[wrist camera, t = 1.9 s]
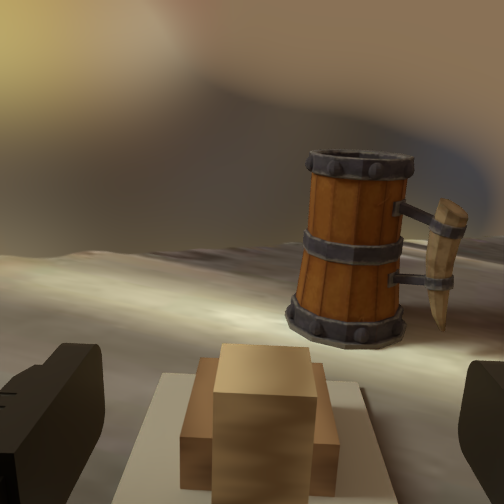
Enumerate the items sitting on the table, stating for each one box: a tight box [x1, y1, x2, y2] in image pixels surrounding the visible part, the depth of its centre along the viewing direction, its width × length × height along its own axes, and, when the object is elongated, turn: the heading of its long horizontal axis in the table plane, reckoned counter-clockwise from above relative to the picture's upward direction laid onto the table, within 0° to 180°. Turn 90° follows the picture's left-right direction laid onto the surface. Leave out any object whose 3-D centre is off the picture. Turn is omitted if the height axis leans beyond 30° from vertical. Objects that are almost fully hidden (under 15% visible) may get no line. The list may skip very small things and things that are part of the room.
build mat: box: [112, 373, 398, 504], centre depth 33 cm, size 18×24×1 cm
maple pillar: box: [211, 343, 317, 504], centre depth 25 cm, size 4×4×12 cm
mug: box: [285, 149, 468, 349], centre depth 54 cm, size 19×14×20 cm
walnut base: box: [180, 357, 340, 497], centre depth 35 cm, size 10×10×4 cm
